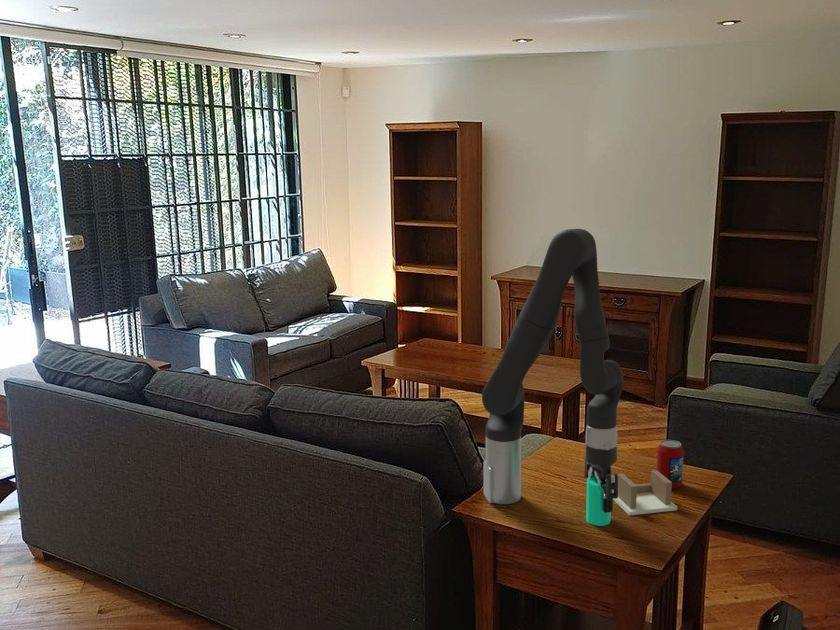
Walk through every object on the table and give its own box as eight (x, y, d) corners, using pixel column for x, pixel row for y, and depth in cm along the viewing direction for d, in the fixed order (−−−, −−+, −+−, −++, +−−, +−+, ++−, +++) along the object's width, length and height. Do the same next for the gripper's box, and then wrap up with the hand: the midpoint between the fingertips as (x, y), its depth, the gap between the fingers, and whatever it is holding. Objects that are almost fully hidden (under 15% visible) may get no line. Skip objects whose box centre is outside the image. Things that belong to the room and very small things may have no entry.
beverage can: (678, 492, 213) (680, 449, 210) (652, 486, 216) (654, 445, 214) (684, 482, 218) (687, 441, 216) (659, 477, 222) (661, 437, 219)
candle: (608, 514, 200) (610, 470, 198) (612, 526, 194) (613, 480, 192) (584, 514, 201) (585, 469, 198) (587, 525, 195) (588, 479, 193)
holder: (629, 515, 200) (630, 489, 198) (610, 497, 210) (611, 472, 209) (677, 510, 202) (678, 484, 201) (656, 492, 213) (657, 467, 211)
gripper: (575, 433, 200) (574, 494, 203) (599, 454, 186) (598, 518, 189) (603, 430, 201) (602, 491, 204) (629, 451, 187) (627, 515, 191)
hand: (600, 504), depth 197 cm, fingers open, 8 cm apart
